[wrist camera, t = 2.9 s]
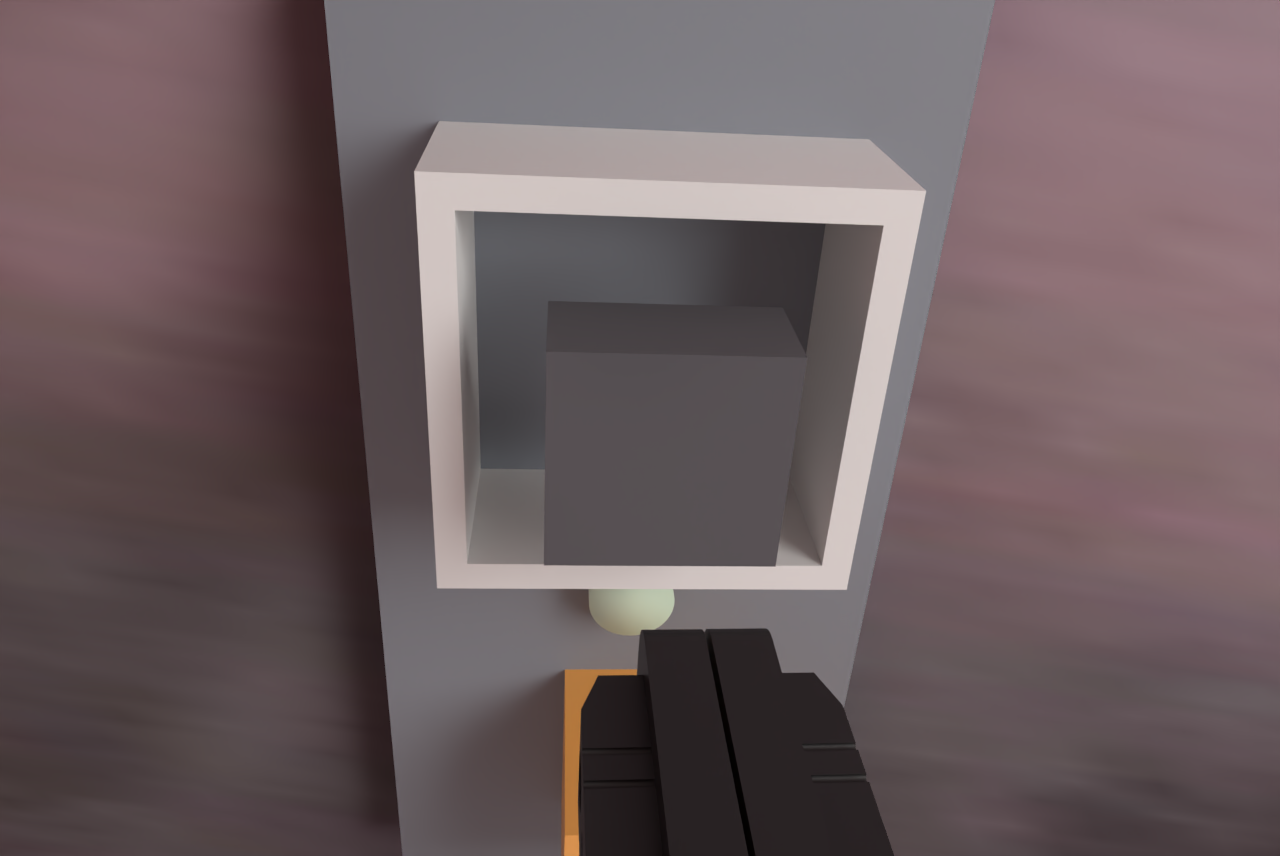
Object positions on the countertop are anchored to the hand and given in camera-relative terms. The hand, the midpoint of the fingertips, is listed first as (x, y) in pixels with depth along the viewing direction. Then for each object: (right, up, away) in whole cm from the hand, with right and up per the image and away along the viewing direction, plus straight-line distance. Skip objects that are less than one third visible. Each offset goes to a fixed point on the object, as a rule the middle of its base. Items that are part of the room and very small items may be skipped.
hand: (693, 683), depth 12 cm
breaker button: (0, +3, +6) cm, 7 cm away
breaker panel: (-1, +2, +13) cm, 13 cm away
